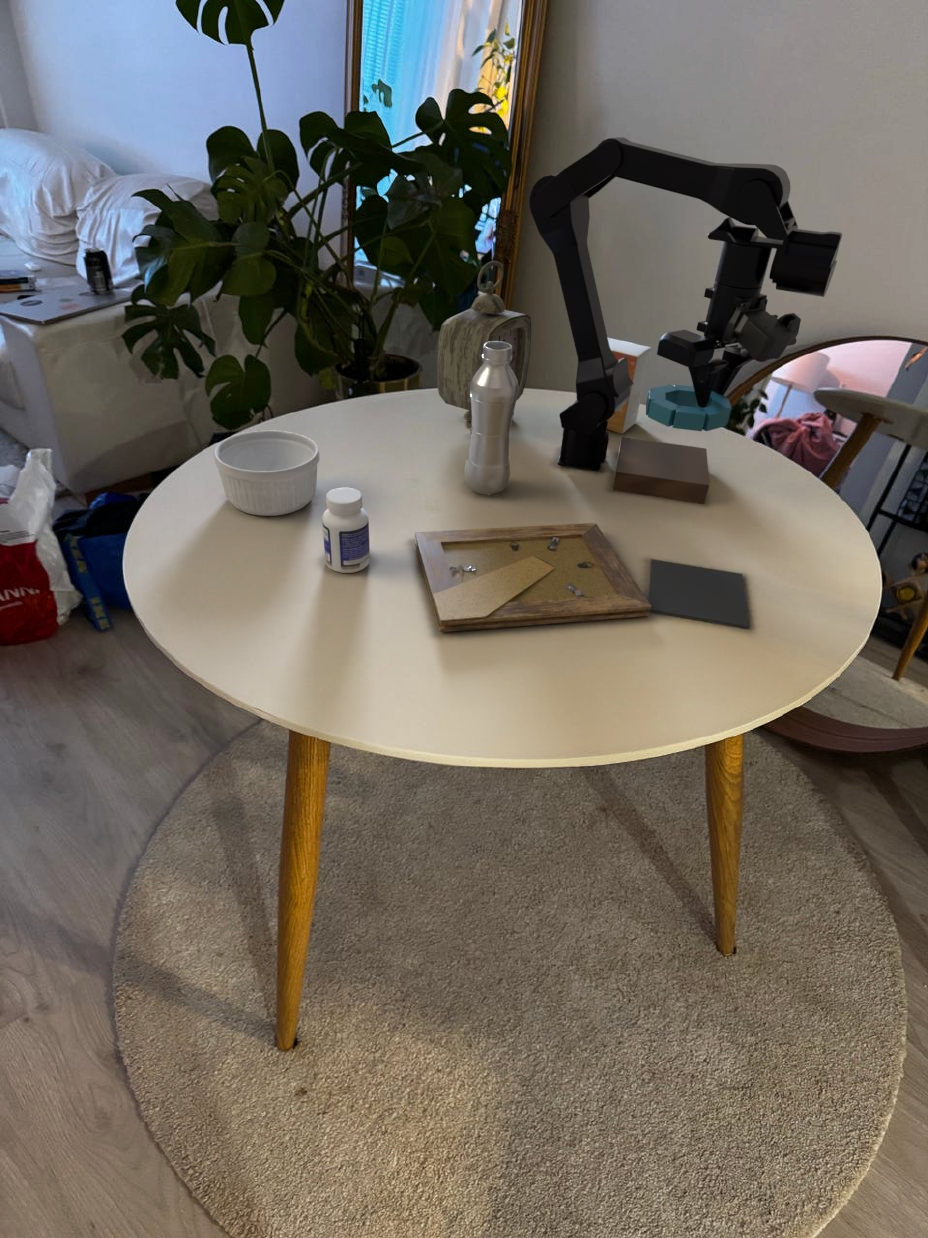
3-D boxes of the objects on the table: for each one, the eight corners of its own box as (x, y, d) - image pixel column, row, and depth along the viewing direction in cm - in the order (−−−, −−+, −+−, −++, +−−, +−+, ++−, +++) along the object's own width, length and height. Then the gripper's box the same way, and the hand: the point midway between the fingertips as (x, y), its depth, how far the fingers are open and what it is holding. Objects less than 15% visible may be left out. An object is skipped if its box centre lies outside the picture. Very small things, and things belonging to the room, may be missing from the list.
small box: (578, 422, 129) (590, 344, 121) (593, 411, 133) (606, 335, 125) (623, 434, 125) (638, 355, 118) (636, 423, 130) (652, 346, 122)
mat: (648, 611, 85) (648, 608, 85) (650, 561, 94) (651, 558, 93) (748, 629, 83) (749, 626, 83) (741, 576, 92) (742, 573, 92)
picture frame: (439, 633, 80) (649, 617, 84) (440, 620, 79) (652, 604, 83) (414, 542, 94) (594, 532, 99) (414, 530, 93) (596, 520, 98)
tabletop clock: (478, 444, 119) (490, 274, 104) (431, 429, 123) (436, 263, 108) (523, 417, 129) (539, 258, 114) (478, 404, 133) (489, 249, 118)
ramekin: (298, 468, 109) (294, 422, 105) (338, 507, 100) (336, 459, 96) (207, 487, 103) (199, 439, 99) (242, 531, 94) (234, 480, 90)
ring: (645, 424, 98) (648, 408, 96) (645, 396, 106) (648, 381, 105) (729, 434, 96) (733, 418, 95) (722, 405, 105) (727, 389, 103)
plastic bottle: (456, 493, 105) (464, 348, 93) (473, 474, 110) (483, 334, 98) (499, 504, 104) (513, 357, 92) (515, 484, 109) (530, 342, 97)
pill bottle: (377, 556, 91) (375, 489, 86) (358, 578, 87) (355, 510, 82) (337, 546, 92) (333, 480, 87) (317, 568, 88) (311, 500, 83)
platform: (612, 490, 109) (615, 471, 107) (617, 454, 119) (621, 436, 117) (704, 504, 107) (709, 485, 105) (701, 466, 117) (706, 448, 115)
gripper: (740, 307, 84) (706, 439, 93) (840, 291, 93) (800, 413, 102) (667, 284, 91) (642, 409, 100) (766, 271, 100) (735, 387, 109)
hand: (707, 405), depth 103 cm, fingers closed on ring, 2 cm apart
